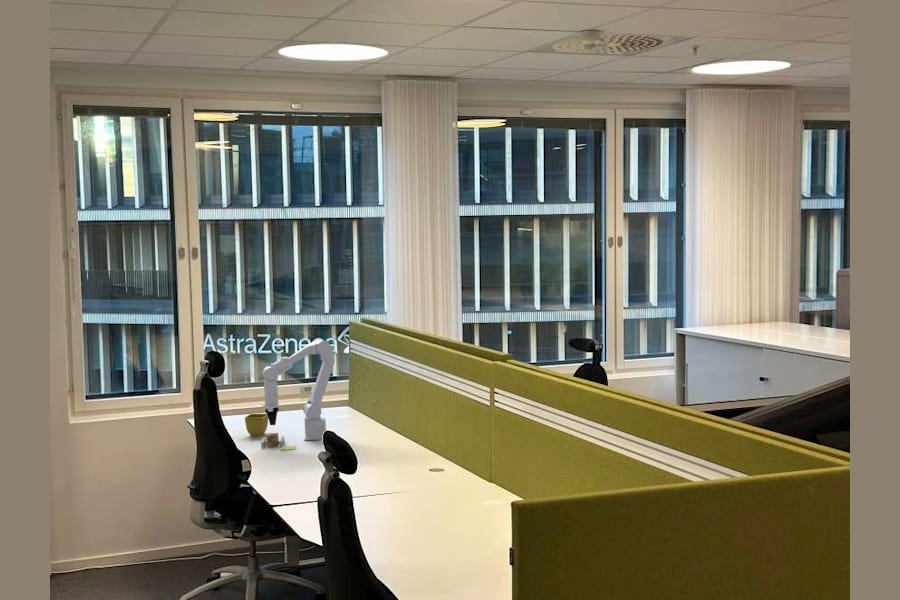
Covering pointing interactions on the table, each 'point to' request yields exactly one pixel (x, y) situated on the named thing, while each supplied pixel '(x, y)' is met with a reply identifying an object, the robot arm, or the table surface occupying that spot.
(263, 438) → the goalpost shaped bracket
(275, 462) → the table surface
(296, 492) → the table surface
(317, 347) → the robot arm
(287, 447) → the coaster
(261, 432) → the flower pot
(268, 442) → the block
